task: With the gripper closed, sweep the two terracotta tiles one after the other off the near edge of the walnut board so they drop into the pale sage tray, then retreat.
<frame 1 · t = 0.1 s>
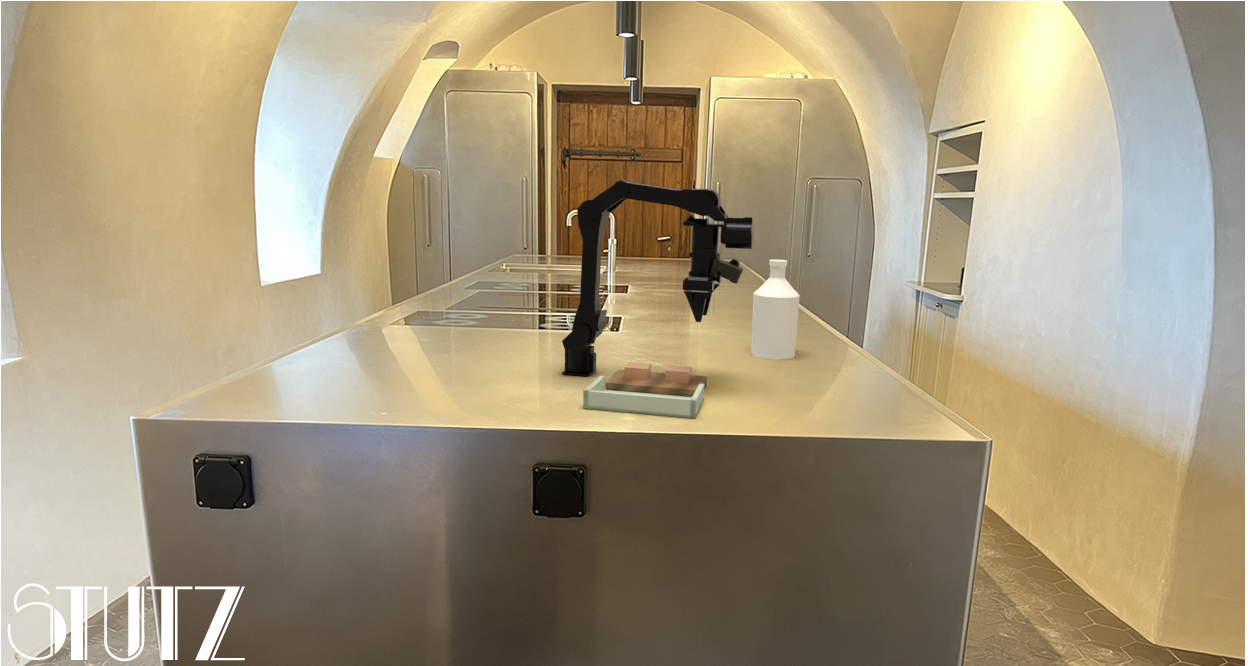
hand: (701, 318, 160), 15 cm above the countertop, fingers open, 9 cm apart
walnut board: (656, 388, 157), on the countertop
right tile: (678, 379, 156), point 2 cm above the countertop, touching walnut board
bottle: (772, 355, 192), on the countertop
sage tray: (644, 404, 145), on the countertop
left tile: (637, 376, 158), point 2 cm above the countertop, touching walnut board
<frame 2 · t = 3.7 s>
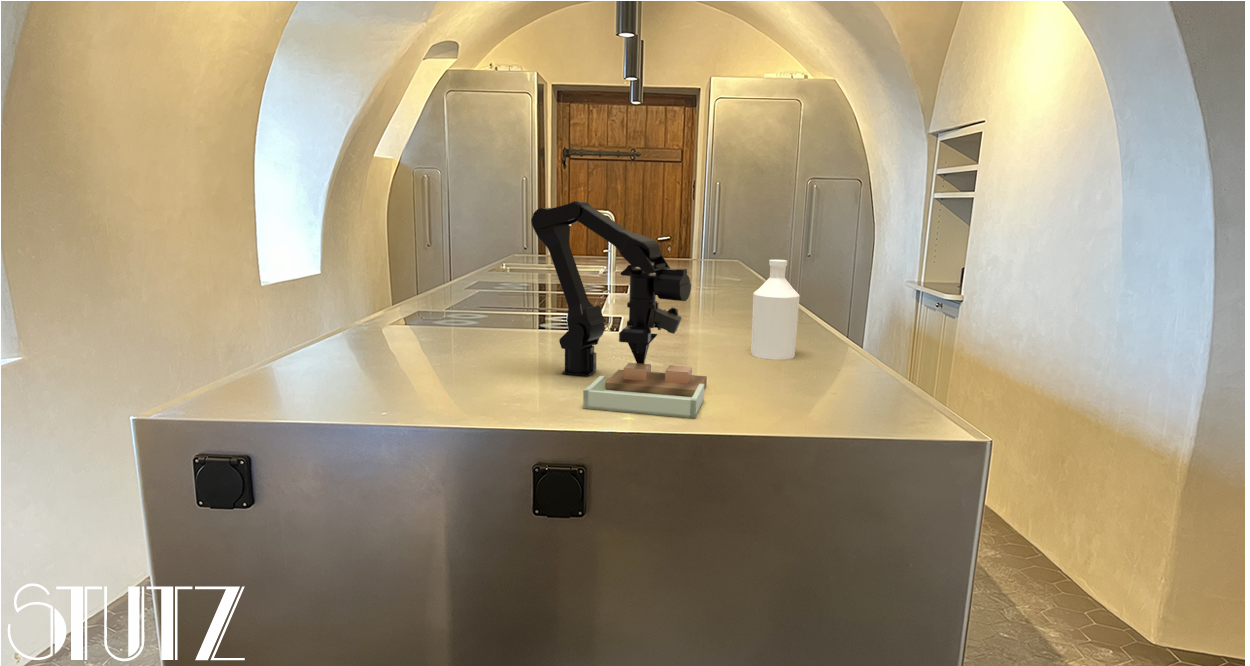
hand: (641, 366, 160), 4 cm above the countertop, fingers closed
left tile: (637, 377, 158), point 2 cm above the countertop, touching gripper
everything else where it was.
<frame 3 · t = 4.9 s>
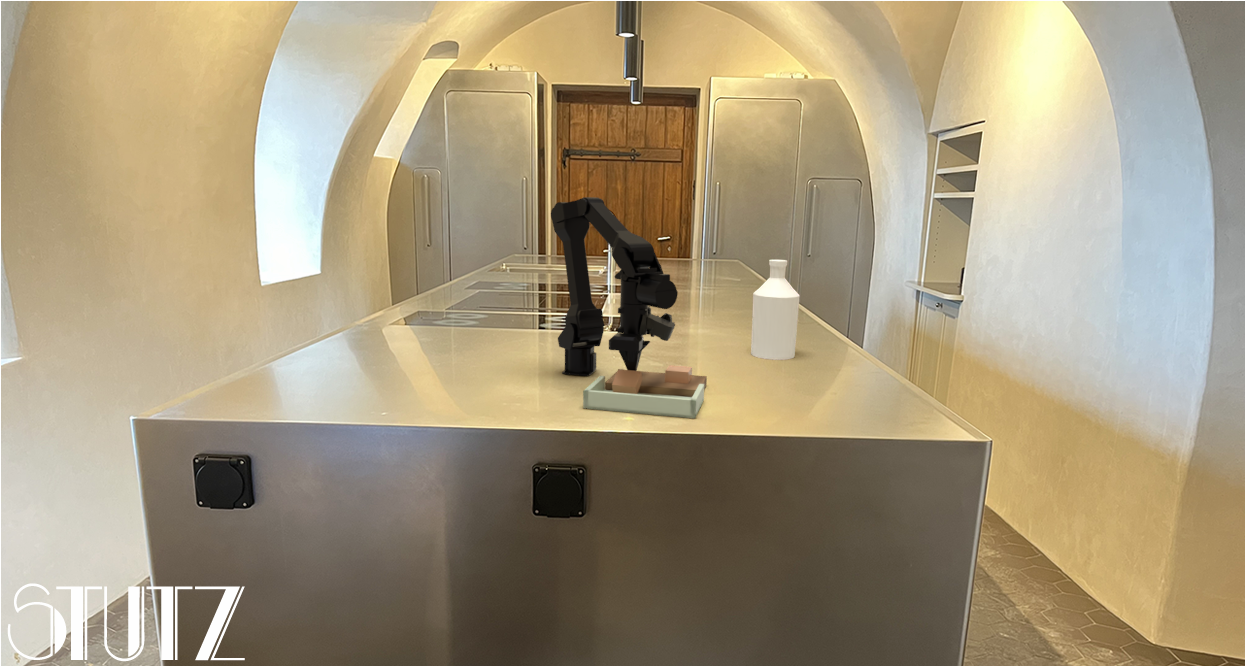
hand: (632, 375, 153), 4 cm above the countertop, fingers closed
left tile: (627, 386, 151), point 2 cm above the countertop, tilted 27°, touching sage tray, walnut board
everything else where it was.
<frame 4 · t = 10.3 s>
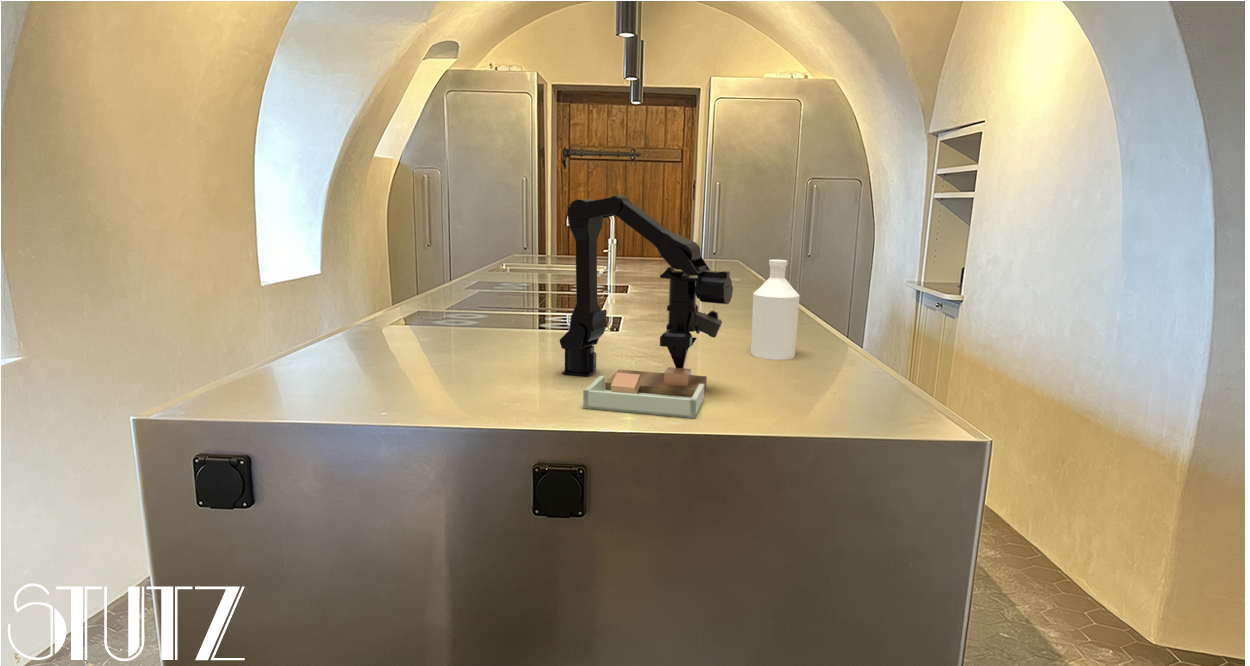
hand: (680, 371, 157), 4 cm above the countertop, fingers closed
right tile: (677, 382, 154), point 2 cm above the countertop, touching gripper
left tile: (626, 390, 150), point 1 cm above the countertop, tilted 19°, touching sage tray, walnut board
everything else where it was.
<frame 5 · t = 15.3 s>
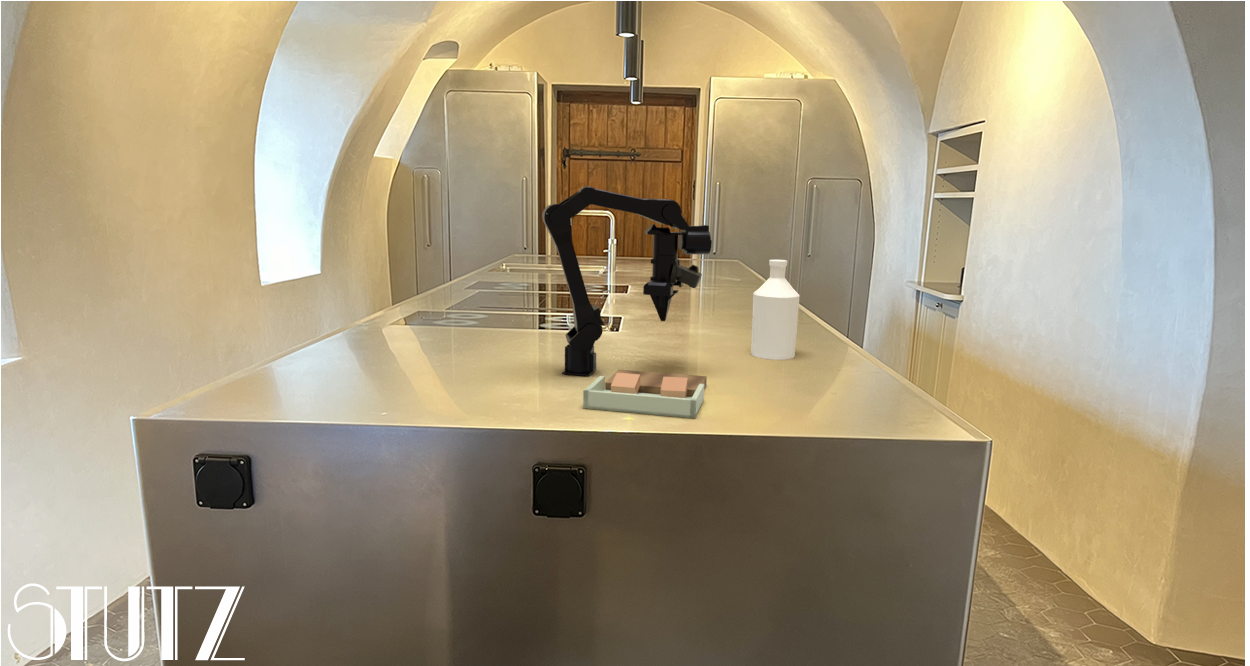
hand: (663, 320, 170), 12 cm above the countertop, fingers closed
right tile: (674, 394, 148), point 1 cm above the countertop, tilted 19°, touching sage tray, walnut board
everything else where it was.
at the end: left tile inside the target area on the sage tray (6.5 cm from its centre), point 1.3 cm above the sage tray's base; right tile inside the target area on the sage tray (6.7 cm from its centre), point 1.3 cm above the sage tray's base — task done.
